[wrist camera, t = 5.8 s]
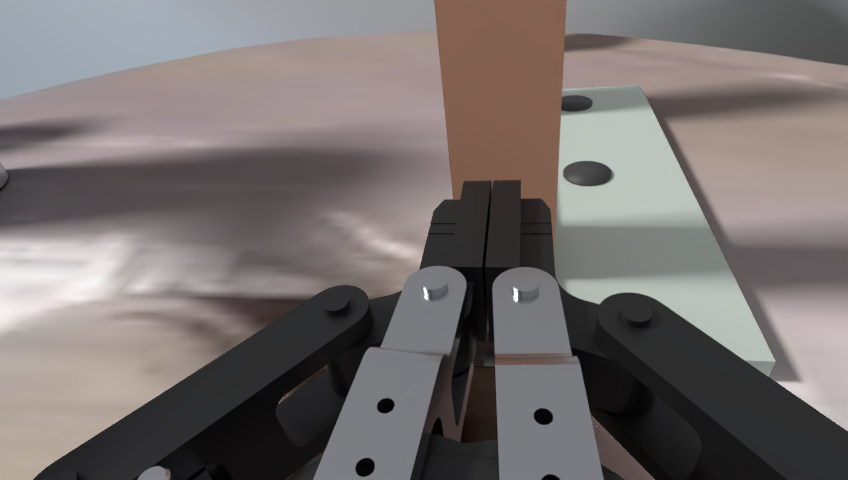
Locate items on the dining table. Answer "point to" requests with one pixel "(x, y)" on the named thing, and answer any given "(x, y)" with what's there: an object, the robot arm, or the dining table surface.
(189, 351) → the dining table surface
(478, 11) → the sliding leg
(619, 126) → the hole plate
